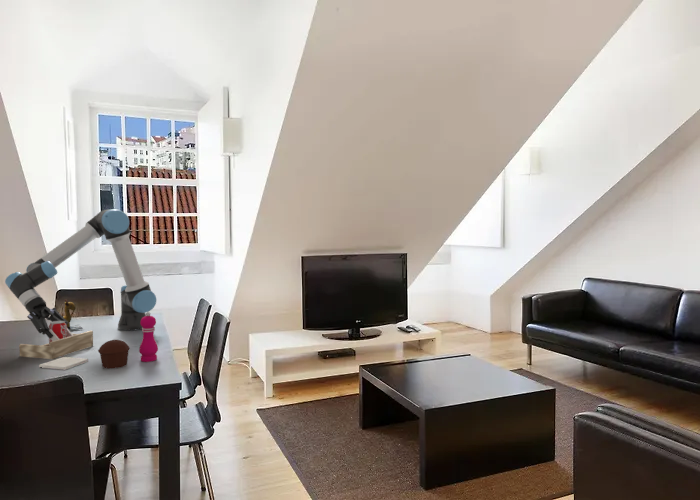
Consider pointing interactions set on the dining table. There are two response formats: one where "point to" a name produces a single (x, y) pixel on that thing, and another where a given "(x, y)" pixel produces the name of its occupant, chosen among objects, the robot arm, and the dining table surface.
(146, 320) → the pepper mill
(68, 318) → the stuffed giraffe
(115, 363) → the muffin
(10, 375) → the dining table surface
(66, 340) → the frame
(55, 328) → the soda can
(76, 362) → the tile pad
